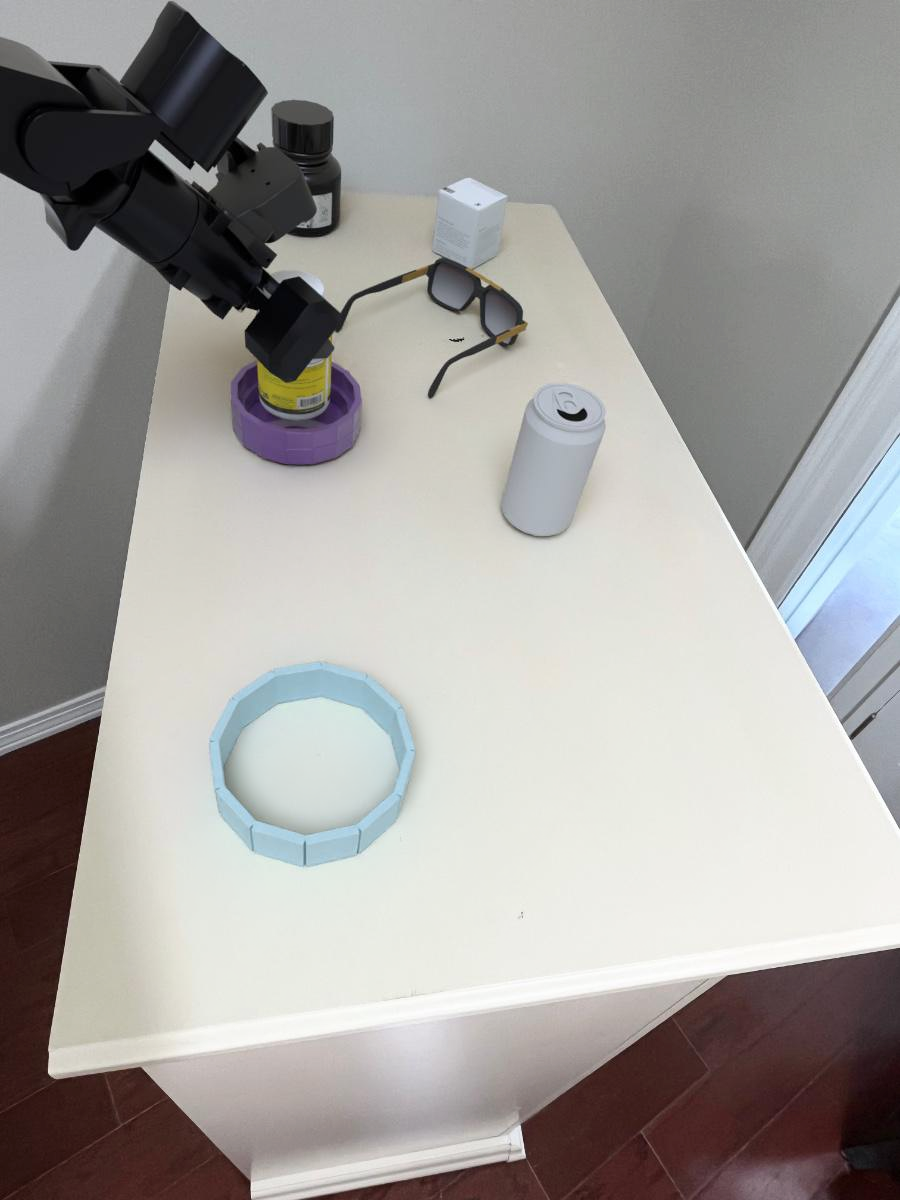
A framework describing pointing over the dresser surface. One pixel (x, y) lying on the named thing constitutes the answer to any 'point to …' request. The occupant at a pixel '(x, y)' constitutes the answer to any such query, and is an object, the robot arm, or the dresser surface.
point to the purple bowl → (296, 437)
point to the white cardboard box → (469, 222)
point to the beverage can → (553, 458)
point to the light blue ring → (300, 686)
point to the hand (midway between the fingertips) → (308, 332)
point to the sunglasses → (461, 304)
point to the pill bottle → (311, 385)
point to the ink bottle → (311, 158)
